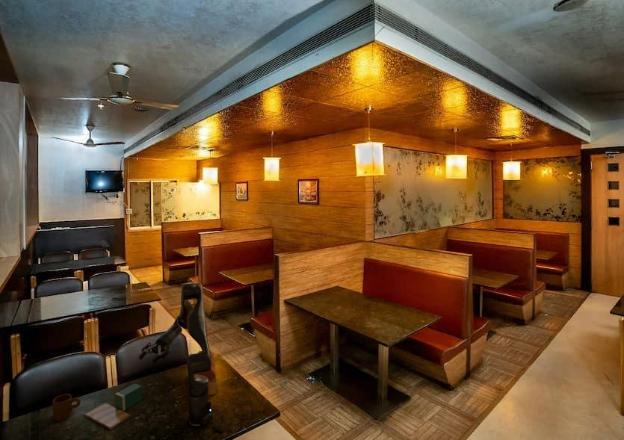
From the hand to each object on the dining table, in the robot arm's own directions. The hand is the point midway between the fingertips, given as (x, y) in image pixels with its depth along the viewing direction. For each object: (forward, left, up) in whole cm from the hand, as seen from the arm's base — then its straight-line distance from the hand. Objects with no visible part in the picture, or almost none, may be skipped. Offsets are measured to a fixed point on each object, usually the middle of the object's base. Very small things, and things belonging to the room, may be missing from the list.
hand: (146, 360), depth 183 cm
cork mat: (+3, +20, -20) cm, 29 cm away
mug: (+20, +29, -21) cm, 41 cm away
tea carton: (+3, +9, -17) cm, 19 cm away
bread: (-17, -23, -20) cm, 36 cm away
